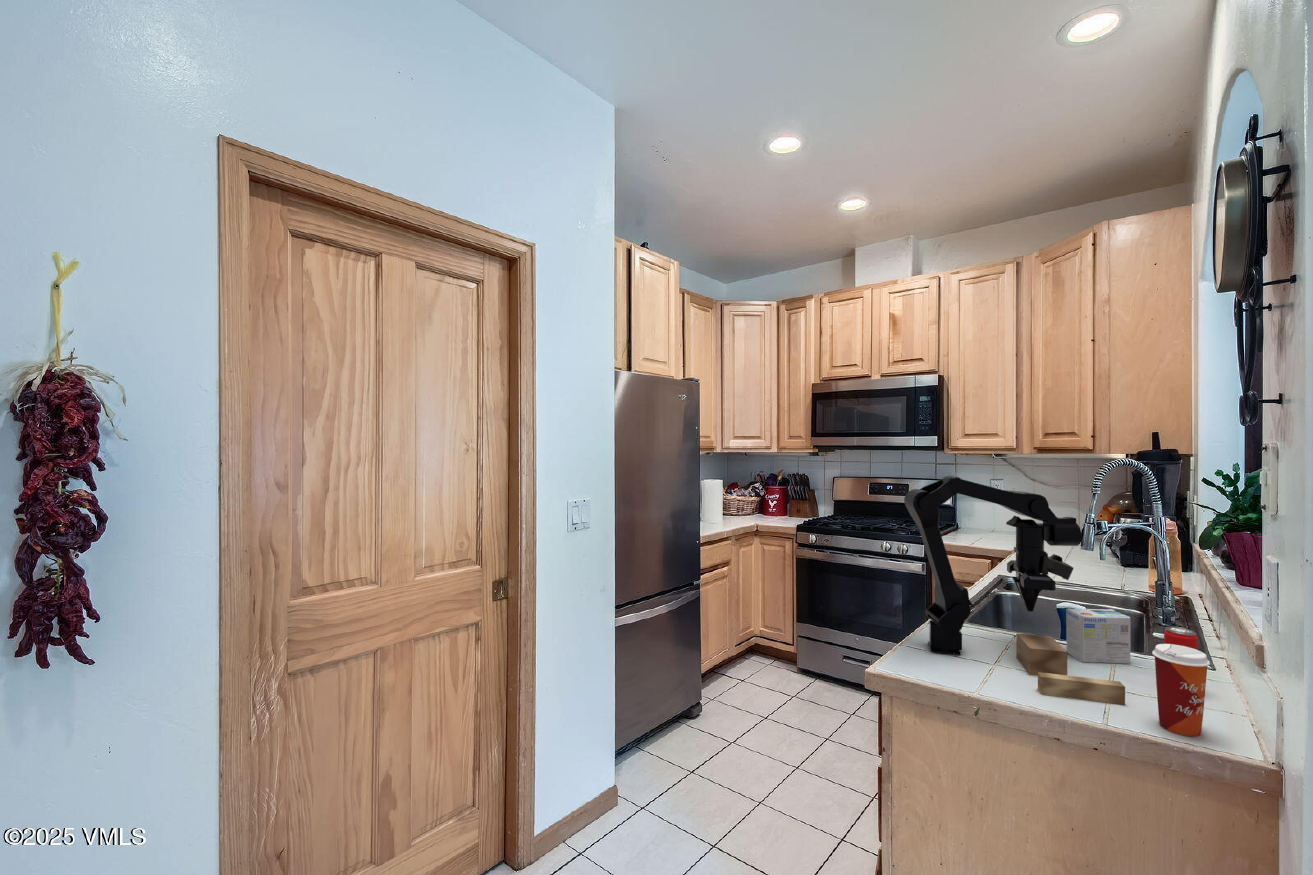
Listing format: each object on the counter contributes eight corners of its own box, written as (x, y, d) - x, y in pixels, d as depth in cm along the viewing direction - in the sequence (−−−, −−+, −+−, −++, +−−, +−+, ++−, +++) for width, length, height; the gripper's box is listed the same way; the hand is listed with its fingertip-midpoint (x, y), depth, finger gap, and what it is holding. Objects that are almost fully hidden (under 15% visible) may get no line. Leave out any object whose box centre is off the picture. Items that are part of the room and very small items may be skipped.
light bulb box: (1112, 653, 141) (1112, 608, 141) (1132, 664, 134) (1132, 617, 134) (1064, 652, 142) (1064, 607, 142) (1081, 663, 135) (1082, 615, 135)
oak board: (1041, 694, 119) (1041, 676, 119) (1037, 689, 122) (1037, 672, 122) (1125, 704, 115) (1125, 686, 115) (1119, 699, 117) (1120, 681, 117)
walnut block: (1029, 675, 129) (1030, 648, 129) (1016, 658, 138) (1016, 633, 138) (1067, 679, 127) (1067, 651, 127) (1050, 662, 136) (1050, 636, 136)
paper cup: (1194, 743, 100) (1195, 661, 100) (1142, 723, 107) (1142, 646, 107) (1219, 734, 103) (1220, 654, 103) (1166, 714, 111) (1167, 640, 110)
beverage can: (1190, 696, 118) (1190, 636, 118) (1158, 686, 123) (1159, 628, 123) (1202, 691, 120) (1202, 632, 120) (1170, 681, 125) (1171, 625, 125)
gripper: (1082, 555, 130) (1082, 626, 130) (1057, 540, 148) (1057, 602, 148) (1024, 552, 134) (1024, 620, 134) (1006, 537, 151) (1006, 598, 152)
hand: (1029, 610), depth 142 cm, fingers closed
